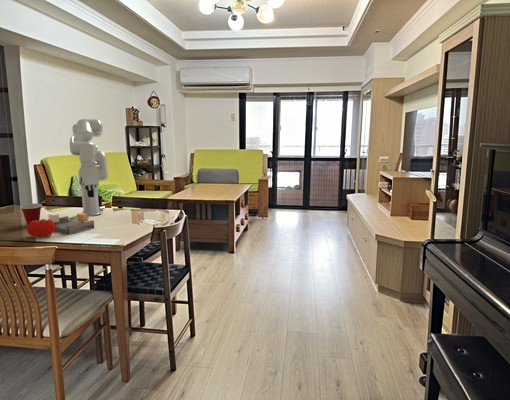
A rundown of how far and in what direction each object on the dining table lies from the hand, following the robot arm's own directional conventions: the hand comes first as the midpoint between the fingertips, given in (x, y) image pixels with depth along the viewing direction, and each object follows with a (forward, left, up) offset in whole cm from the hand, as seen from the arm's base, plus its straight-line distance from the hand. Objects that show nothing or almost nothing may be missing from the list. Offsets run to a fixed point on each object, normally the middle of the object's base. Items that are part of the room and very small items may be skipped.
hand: (91, 197), depth 198 cm
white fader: (+15, -13, -14) cm, 24 cm away
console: (+11, -7, -17) cm, 21 cm away
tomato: (+26, -4, -17) cm, 32 cm away
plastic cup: (+16, -32, -17) cm, 40 cm away
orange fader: (+6, 0, -14) cm, 15 cm away
